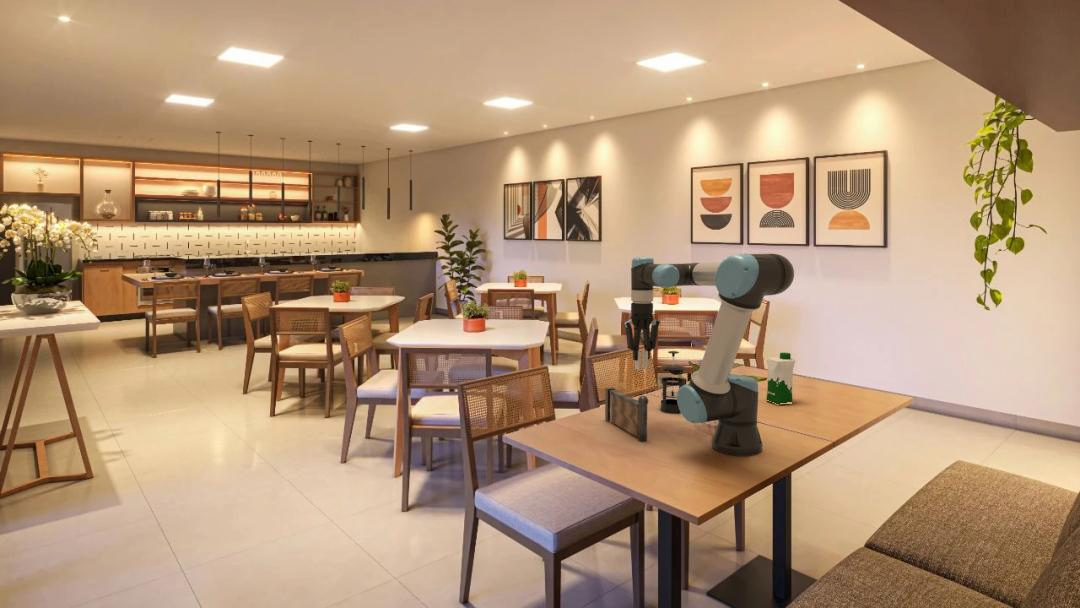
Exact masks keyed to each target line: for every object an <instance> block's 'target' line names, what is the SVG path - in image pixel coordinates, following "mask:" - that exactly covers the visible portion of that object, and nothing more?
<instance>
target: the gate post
mask: <svg viewBox="0 0 1080 608" xmlns="http://www.w3.org/2000/svg"><path fill="white" fill-rule="evenodd" d="M637 401H638V404H639V422H638V437H637V440H638V442H641V443H645V442H648V404H649V398H648V397H647V396H645V395H640V396H639V397H638V399H637Z"/></svg>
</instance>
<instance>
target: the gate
mask: <svg viewBox="0 0 1080 608" xmlns="http://www.w3.org/2000/svg"><path fill="white" fill-rule="evenodd" d="M610 421H611V422H612V423H613V424H615V425H617V426H618V427H620V428H621V429H623V430H624V431H626V432H628V433H629V434H631V435H633V436H635V437H636V438H638V422H639V404H638V399H635V398H633V397H631V396H629V395H628V394H626V393H623V392H621V391H619V390H617V389H615V390H610Z"/></svg>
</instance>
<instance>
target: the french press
mask: <svg viewBox="0 0 1080 608" xmlns="http://www.w3.org/2000/svg"><path fill="white" fill-rule="evenodd" d="M667 353H668V354H671V357H672V364H666V365H662V366H660V368H661V371H662V373H664V372H669V373H670V374H671V375H672V377H671V376H668V377H662V378H661V379H660V383H661V384H662V392H661V395H662V400H660V408H659V409H660V412H661V413H664V414H665V413H666V414H670V415H671V414H672V415H674V414H678V415H679V414H681V412H680V410H679V406H678V403H677V393H678V391H674V387H678V389H679V388H680V387H681V386H683V385H687V378H685V377H682V378H680V377H674V376H679V375H680V376H681V375H684V374H685V370H686V367H685V366H684V365H680V364H679V365H678V364H674V362H675V361H674V360H675V355H676V354H679V353H680V352H679V351H677V350H670V351H667ZM667 386H671V389H672V390H671V391H667Z"/></svg>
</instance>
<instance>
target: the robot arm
mask: <svg viewBox="0 0 1080 608" xmlns="http://www.w3.org/2000/svg"><path fill="white" fill-rule="evenodd" d="M630 276H631V277H630V280H631V281H630V283H631V290H630V301H632V302H631V303H630V313H631V314H630V315H631V316H630V318H629V320H628V321H623V326H624V328H625V335H626V343H627V350H630V351H632V360H633V361H634V370H637V371H641V370H642V369H643V370H645V371H646V370H649V361H650V359H651V352H652V350H654V349H656V346H657V345H656V344H657V338H658V337H657V336H658V335H657V334H658V329H659V325H660V323H661V321H660V320H657V319H655V318H654V315H653V313H654V303H653V302H654V287H660V288H663V289H665V288H667V289H668V288H673V287H684V286H687V287H689V286H690V287H691V286H693V287H695V286H696V287H697V286H699V287H700V286H703V287H704V286H709V287H710V286H711V287H713V286H714V287H715V288H716V289H717V291H718V298H719V299H720V302H721V303H720V306H719V309H718V311H717V315H716V318H715V322H714V324H713V326H712V329H711V334H710V336H709V340H708V342H707V345H706V347H705V352H704V355H703V357H702V360H701V363H700V366H699V369H698V370H696V371H694V372H693V373H692V374H691V376H690V379H689V382H688V384H686V385H683V386H681V387H680V388H679V387H678V390H677V392H678V393H677V398H676V399H677V403H678V406H679V410H680V412H681V413H680V414H681V415H682V417H683V418H684V419H685V420H686V421H688V423H691V424H704V423H708V422H713V421H717V424H716V428H715V430H714V434H713V436H712V438H711V447H712V448H713V449H714V450H715V451H717V452H719V453H722V454H725V455H731V456H737V457H738V456H739V457H740V456H741V457H742V456H743V457H747V456H748V457H749V456H756V455H758V454H761V453H762V452H763V441H762V439H761V434H760V431H759V428H758V407H759V394H760V393H759V383H758V381H757V380H756V379H755V378H754V377H750V376H747V375H741V374H734V373H733V374H732V373H731V372H732V369H733V366H734V363H735V360H736V357H737V355H738V351H739V349H740V347H741V343H742V341H743V339H744V335H745V333H746V330H747V327H748V325H749V321H750V319H751V316H752V314H753V312H754V311H757V310H759V309H760V308H761V306H762V303H763V300H764V298H765V297H766V296H768V297H769V296H774V295H775V296H776V295H779V294H782V293H784V292H785V291H786V290H788V289H789V288H790V287H791V285H792V284H793V282H794V278H795V269H794V267H793V264H792V263H791V262H790V260H789V259H788V258H786V256H783V255H781V254H778V253H738V254H732V255H730V256H727V257H725V258H724V259H723V260H722V261H721V262H718V261H717V262H691V263H690V262H688V263H687V262H686V263H655V262H654V258H653V257H649V256H648V257H646V256H645V257H643V256H642V257H637V256H635V257H633V258H632V259H631V268H630ZM632 327H633V328H632ZM641 333H642V334H641ZM641 335H642V337H643V347H644V349H642V351H639V349H640V341H641ZM641 353H642V354H641ZM641 358H642V359H641Z"/></svg>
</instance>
